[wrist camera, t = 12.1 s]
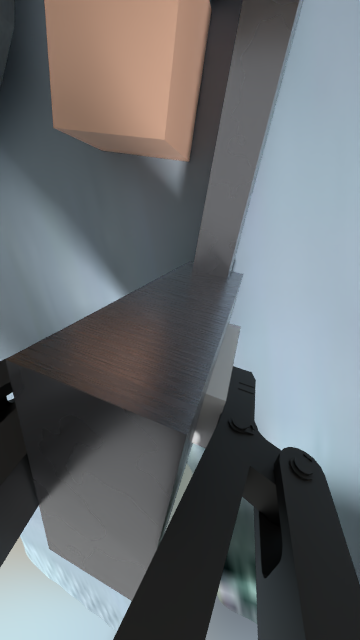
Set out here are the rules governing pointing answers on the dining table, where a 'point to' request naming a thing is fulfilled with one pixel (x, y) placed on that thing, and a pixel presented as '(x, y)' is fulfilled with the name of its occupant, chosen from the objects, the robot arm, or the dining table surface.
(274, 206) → the dining table surface
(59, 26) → the block
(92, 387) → the hook tool
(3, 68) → the pie
